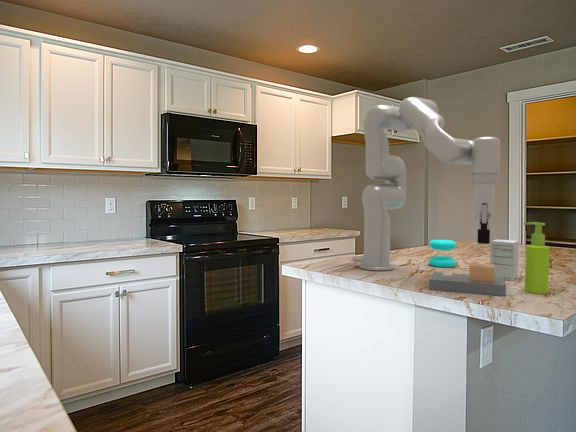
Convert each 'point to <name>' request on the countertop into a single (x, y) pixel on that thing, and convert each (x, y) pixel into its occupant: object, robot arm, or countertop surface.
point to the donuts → (442, 260)
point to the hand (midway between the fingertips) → (483, 243)
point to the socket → (466, 284)
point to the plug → (482, 272)
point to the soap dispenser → (537, 262)
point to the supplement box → (505, 258)
